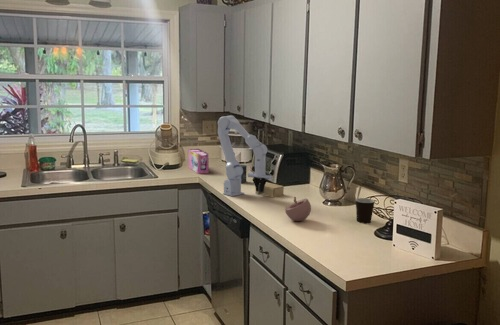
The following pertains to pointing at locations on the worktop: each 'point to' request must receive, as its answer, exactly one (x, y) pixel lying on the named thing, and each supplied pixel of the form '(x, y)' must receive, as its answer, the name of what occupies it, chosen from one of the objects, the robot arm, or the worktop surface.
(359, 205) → the coffee mug
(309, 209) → the mortar and pestle
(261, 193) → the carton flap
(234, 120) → the robot arm
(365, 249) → the worktop surface
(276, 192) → the carton
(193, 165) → the gum box
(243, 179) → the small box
